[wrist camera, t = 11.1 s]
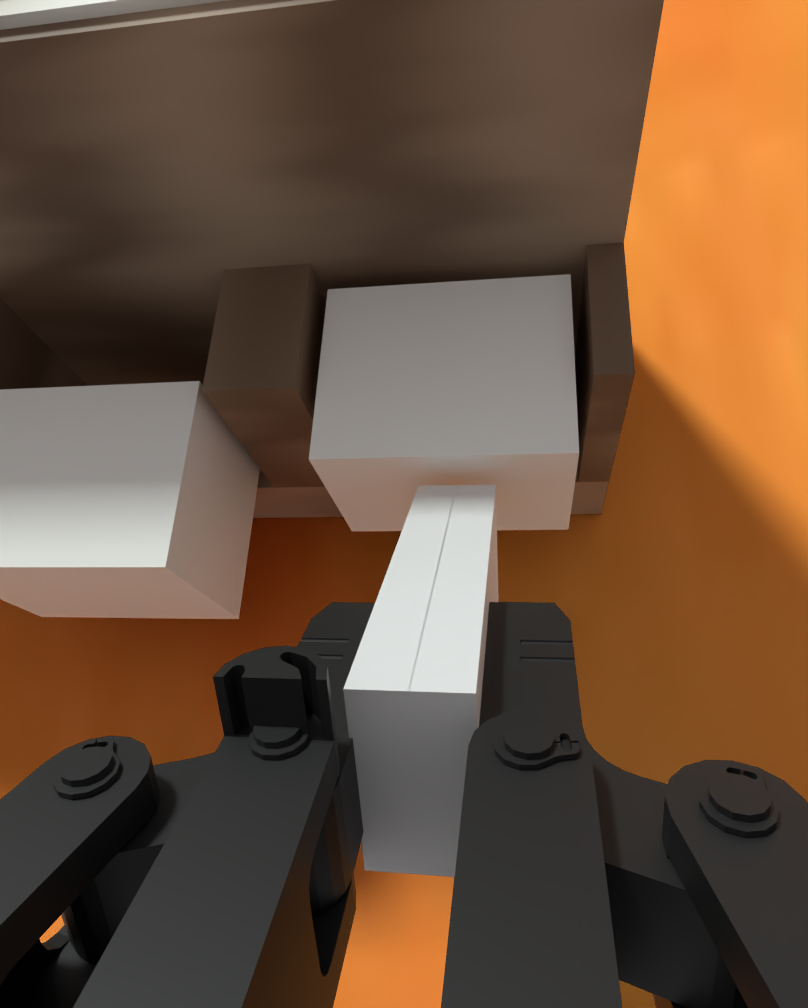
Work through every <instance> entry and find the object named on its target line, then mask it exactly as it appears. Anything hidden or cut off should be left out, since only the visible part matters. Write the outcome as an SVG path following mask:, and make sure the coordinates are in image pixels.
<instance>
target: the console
mask: <svg viewBox="0 0 808 1008" xmlns="http://www.w3.org/2000/svg"><path fill="white" fill-rule="evenodd" d="M663 2H664V0H0V390H2V389H25V388H49V387H72V386H95V385H118V384H142V383H165V382H188V381H200V382H201V383H202V385H203V388H202V392H203V393H204V394H205V396H206V397H207V398H208V400H209V401H210V402H211V404H212V405H213V406H214V408H215V409H216V410H217V412H218V413H219V414H220V416H221V417H222V418H223V420H224V421H225V422H226V424H227V425H228V426H229V428H230V429H231V430H232V432H233V433H234V434H235V436H236V437H237V438H238V440H239V441H240V442H241V444H242V445H243V446H244V448H245V449H246V450H247V452H248V453H249V454H250V456H251V457H252V458H253V460H254V461H255V462H256V464H257V465H258V466H259V468H260V471H259V479H258V486H257V493H256V500H255V507H254V514H253V518H291V517H343V516H342V514H341V512H340V511H339V509H338V507H337V506H336V504H335V502H334V501H333V499H332V497H331V496H330V494H329V492H328V491H327V489H326V487H325V486H324V484H323V482H322V481H321V479H320V477H319V476H318V474H317V472H316V471H315V469H314V467H313V466H312V464H311V462H310V461H309V453H310V444H311V435H312V426H313V417H314V408H315V399H316V390H317V381H318V372H319V363H320V354H321V345H322V336H323V327H324V318H325V309H326V300H327V291H328V289H341V288H357V287H373V286H389V285H405V284H421V283H437V282H453V281H470V280H486V279H502V278H518V277H534V276H550V275H566V274H571V293H572V313H573V334H574V355H575V376H576V397H577V417H578V438H579V458H578V465H577V472H576V479H575V486H574V493H573V501H572V508H571V514H601V512H602V508H603V504H604V500H605V496H606V491H607V487H608V483H609V479H610V475H611V471H612V466H613V462H614V458H615V454H616V450H617V445H618V441H619V437H620V433H621V429H622V425H623V420H624V416H625V412H626V408H627V404H628V399H629V395H630V391H631V387H632V383H633V379H634V374H635V371H634V359H633V348H632V336H631V324H630V312H629V300H628V289H627V277H626V265H625V253H624V237H625V231H626V225H627V219H628V213H629V207H630V201H631V195H632V189H633V183H634V176H635V170H636V164H637V158H638V152H639V146H640V140H641V134H642V128H643V122H644V116H645V110H646V104H647V98H648V92H649V86H650V80H651V74H652V68H653V62H654V56H655V50H656V44H657V38H658V32H659V26H660V20H661V14H662V8H663Z"/></svg>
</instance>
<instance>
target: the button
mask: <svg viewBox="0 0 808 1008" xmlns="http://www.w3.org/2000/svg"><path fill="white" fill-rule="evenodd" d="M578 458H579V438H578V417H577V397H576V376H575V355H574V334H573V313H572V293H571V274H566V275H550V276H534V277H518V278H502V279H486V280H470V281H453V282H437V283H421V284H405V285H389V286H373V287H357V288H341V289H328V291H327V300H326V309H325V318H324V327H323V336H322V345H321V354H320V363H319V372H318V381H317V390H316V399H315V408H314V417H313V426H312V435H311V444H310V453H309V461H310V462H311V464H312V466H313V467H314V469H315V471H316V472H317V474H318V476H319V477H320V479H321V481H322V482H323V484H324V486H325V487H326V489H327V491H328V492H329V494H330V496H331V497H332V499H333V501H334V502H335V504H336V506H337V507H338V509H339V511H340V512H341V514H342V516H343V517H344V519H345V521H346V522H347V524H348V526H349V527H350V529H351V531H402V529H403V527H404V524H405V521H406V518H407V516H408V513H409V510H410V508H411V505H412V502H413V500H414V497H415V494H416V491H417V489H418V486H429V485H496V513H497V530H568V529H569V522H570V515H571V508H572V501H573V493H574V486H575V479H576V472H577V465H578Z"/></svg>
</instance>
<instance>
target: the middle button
mask: <svg viewBox="0 0 808 1008" xmlns="http://www.w3.org/2000/svg"><path fill="white" fill-rule="evenodd" d="M202 388H203V385H202V383H201V382H200V381H188V382H165V383H142V384H118V385H95V386H72V387H49V388H25V389H2V390H0V600H3V601H5V602H7V603H10V604H12V605H14V606H17V607H19V608H22V609H24V610H26V611H29V612H31V613H33V614H36V615H38V616H40V617H89V618H177V619H239V614H240V607H241V600H242V593H243V586H244V579H245V572H246V564H247V557H248V550H249V543H250V536H251V529H252V522H253V514H254V507H255V500H256V493H257V486H258V479H259V471H260V468H259V466H258V465H257V464H256V462H255V461H254V460H253V458H252V457H251V456H250V454H249V453H248V452H247V450H246V449H245V448H244V446H243V445H242V444H241V442H240V441H239V440H238V438H237V437H236V436H235V434H234V433H233V432H232V430H231V429H230V428H229V426H228V425H227V424H226V422H225V421H224V420H223V418H222V417H221V416H220V414H219V413H218V412H217V410H216V409H215V408H214V406H213V405H212V404H211V402H210V401H209V400H208V398H207V397H206V396H205V394H204V393H203V392H202Z"/></svg>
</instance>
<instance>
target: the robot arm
mask: <svg viewBox="0 0 808 1008" xmlns="http://www.w3.org/2000/svg"><path fill="white" fill-rule="evenodd" d="M213 679H214V684H215V690H216V695H217V700H218V705H219V710H220V715H221V721H222V726H223V731H224V738H223V740H222V741H221V743H220V745H219V747H218V749H217V750H216V752H214V753H211V754H208V755H204V756H200V757H196V758H191V759H186V760H181V761H175V762H170V763H165V764H159V765H154V766H153V764H152V760H151V756H150V754H149V752H148V750H147V748H146V747H145V745H144V744H143V743H141V742H139V741H137V740H135V739H133V738H131V737H121V736H106V737H101V738H95V739H90V740H86V741H84V742H81V743H79V744H76V745H74V746H71V747H69V748H66V749H64V750H63V751H61V752H60V753H58V754H57V755H55V756H54V757H52V758H51V759H49V760H48V761H46V762H45V763H44V764H42V765H41V766H40V767H39V768H38V769H36V770H35V771H34V772H33V773H32V774H30V775H29V776H28V777H27V778H26V779H24V780H23V781H22V782H21V783H20V784H18V785H17V786H16V787H15V788H14V789H12V790H11V791H10V792H9V793H8V794H7V795H5V796H4V797H3V798H2V799H1V800H0V1008H333V1004H334V1000H335V996H336V991H337V987H338V983H339V979H340V974H341V970H342V966H343V962H344V957H345V953H346V949H347V944H348V940H349V936H350V932H351V927H352V923H353V919H354V915H355V910H356V889H355V881H354V873H353V871H354V867H355V863H356V859H357V856H358V852H359V848H360V844H362V852H363V861H364V869H365V870H367V871H381V872H394V873H408V874H422V875H435V876H449V877H455V878H454V888H453V897H452V907H451V916H450V926H449V936H448V945H447V955H446V965H445V974H444V984H443V994H442V1003H441V1008H622V1002H621V994H620V985H619V980H621V981H624V982H626V983H629V984H631V985H633V986H636V987H638V988H641V989H643V990H646V991H648V992H650V993H653V995H654V1000H655V1005H656V1007H657V1008H808V803H807V802H806V800H805V799H804V798H803V797H802V796H800V795H799V794H798V793H797V792H796V791H795V790H794V789H793V788H792V787H791V786H789V785H788V784H787V783H786V782H785V781H784V780H782V779H780V778H778V777H776V776H774V775H772V774H770V773H768V772H766V771H764V770H762V769H760V768H758V767H754V766H750V765H747V764H743V763H739V762H735V761H728V760H704V761H701V762H697V763H694V764H690V765H687V766H684V767H683V768H681V769H680V770H679V771H678V772H677V773H676V774H674V775H673V776H672V777H671V778H670V780H669V783H668V784H664V783H661V782H657V781H654V780H650V779H647V778H643V777H640V776H637V775H635V774H632V773H629V772H626V771H624V770H621V769H620V768H618V767H616V766H615V765H613V764H611V763H609V762H608V761H606V760H605V759H604V758H603V757H601V756H600V755H599V754H598V753H597V752H596V751H595V750H594V749H593V748H592V746H591V745H590V744H589V742H588V741H587V739H586V737H585V734H584V730H583V727H582V719H581V710H580V701H579V693H578V684H577V675H576V666H575V658H574V649H573V640H572V632H571V623H570V620H569V619H568V617H567V616H566V615H565V614H564V613H563V612H562V611H561V610H560V609H559V607H558V606H557V605H556V604H555V603H527V602H499V594H498V553H497V513H496V485H429V486H418V489H417V491H416V494H415V497H414V500H413V502H412V505H411V508H410V510H409V513H408V516H407V518H406V521H405V524H404V527H403V529H402V532H401V535H400V537H399V540H398V543H397V545H396V548H395V551H394V554H393V556H392V559H391V562H390V564H389V567H388V570H387V572H386V575H385V578H384V581H383V583H382V586H381V589H380V591H379V594H378V597H377V599H376V602H375V603H344V602H332V603H331V604H330V605H328V606H327V607H326V608H325V609H323V610H322V611H321V612H319V613H318V614H317V615H316V616H314V617H313V618H312V619H311V621H310V623H309V625H308V627H307V629H306V631H305V633H304V634H303V636H302V642H299V644H298V646H297V647H292V646H277V647H266V648H262V649H258V650H255V651H252V652H248V653H245V654H242V655H241V656H239V657H237V658H235V659H233V660H232V661H230V662H228V663H226V664H225V665H224V666H223V667H222V668H221V669H220V670H219V671H218V672H217V673H216V674H215V675H214V676H213ZM60 915H62V918H63V921H64V924H65V925H64V926H63V927H62V928H61V929H60V931H59V932H58V933H56V934H55V935H54V936H53V937H51V938H50V939H49V940H48V941H46V942H45V943H41V942H40V940H39V938H40V937H41V936H42V935H43V934H44V933H45V932H46V930H47V929H48V928H49V927H50V926H51V925H52V924H53V923H54V922H55V921H56V920H57V919H58V917H59V916H60Z"/></svg>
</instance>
